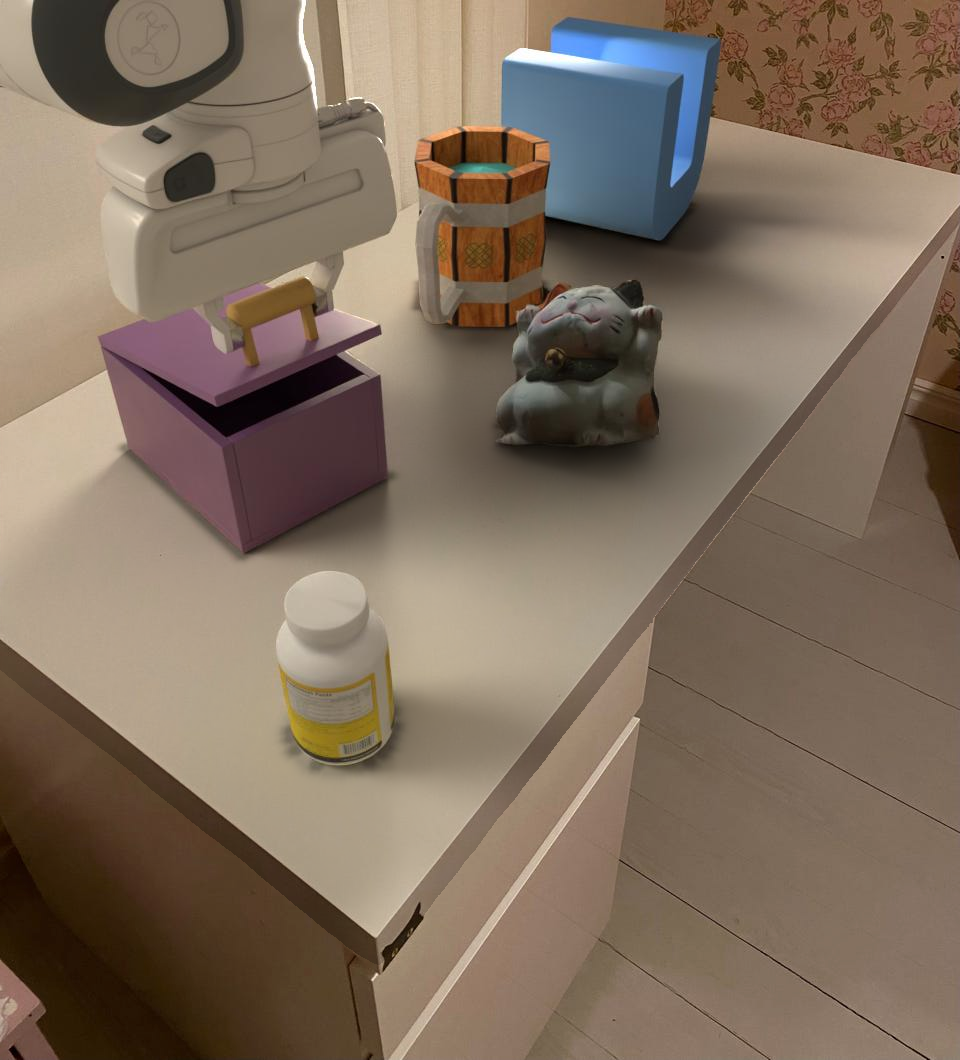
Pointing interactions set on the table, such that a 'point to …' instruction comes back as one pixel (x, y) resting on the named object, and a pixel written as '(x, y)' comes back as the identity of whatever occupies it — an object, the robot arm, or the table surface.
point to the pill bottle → (335, 669)
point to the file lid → (269, 332)
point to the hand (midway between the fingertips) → (275, 329)
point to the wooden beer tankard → (480, 224)
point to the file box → (259, 443)
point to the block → (616, 120)
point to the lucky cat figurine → (584, 369)
